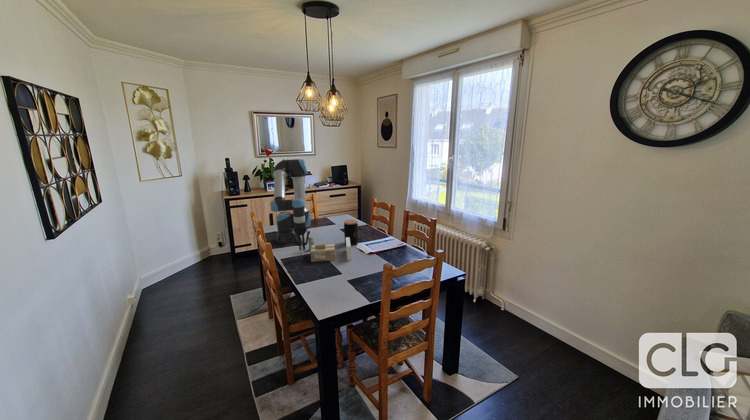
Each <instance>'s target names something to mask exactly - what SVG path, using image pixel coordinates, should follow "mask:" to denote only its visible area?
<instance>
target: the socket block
mask: <svg viewBox="0 0 750 420" xmlns="http://www.w3.org/2000/svg"><path fill="white" fill-rule="evenodd" d="M309 252H310V261H311V263H313V262H327V261H335V260H336V245H335V242H329V243H314V244H312V247H311V251H309Z"/></svg>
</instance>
